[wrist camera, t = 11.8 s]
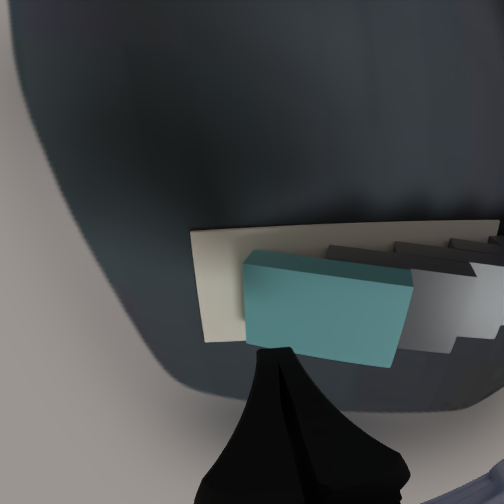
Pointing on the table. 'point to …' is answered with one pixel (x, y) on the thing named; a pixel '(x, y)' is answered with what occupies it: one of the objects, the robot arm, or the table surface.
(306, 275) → the tile teal
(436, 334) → the tile
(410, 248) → the tile
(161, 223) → the table surface
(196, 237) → the mat
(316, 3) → the table surface
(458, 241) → the tile
